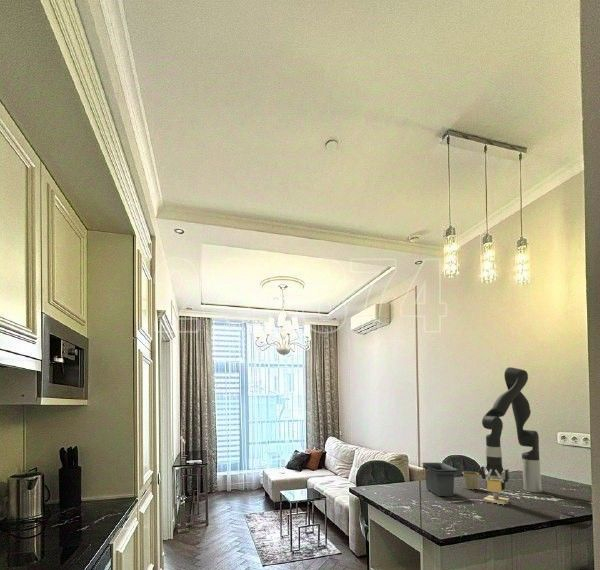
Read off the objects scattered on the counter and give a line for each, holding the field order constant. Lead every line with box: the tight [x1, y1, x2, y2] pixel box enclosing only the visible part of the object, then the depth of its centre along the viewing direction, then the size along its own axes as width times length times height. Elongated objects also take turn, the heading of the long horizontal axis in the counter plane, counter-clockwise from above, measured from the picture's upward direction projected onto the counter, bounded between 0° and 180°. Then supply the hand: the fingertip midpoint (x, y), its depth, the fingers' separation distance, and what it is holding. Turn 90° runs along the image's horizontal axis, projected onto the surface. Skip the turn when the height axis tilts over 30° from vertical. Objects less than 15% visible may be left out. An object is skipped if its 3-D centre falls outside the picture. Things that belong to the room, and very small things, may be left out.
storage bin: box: [421, 462, 458, 497], centre depth 266 cm, size 21×16×14 cm
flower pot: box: [462, 471, 480, 491], centre depth 277 cm, size 9×9×9 cm
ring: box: [486, 478, 505, 494], centre depth 250 cm, size 7×7×5 cm
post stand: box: [482, 491, 510, 506], centre depth 249 cm, size 10×10×8 cm
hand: (495, 488), depth 249 cm, fingers closed on ring, 6 cm apart
